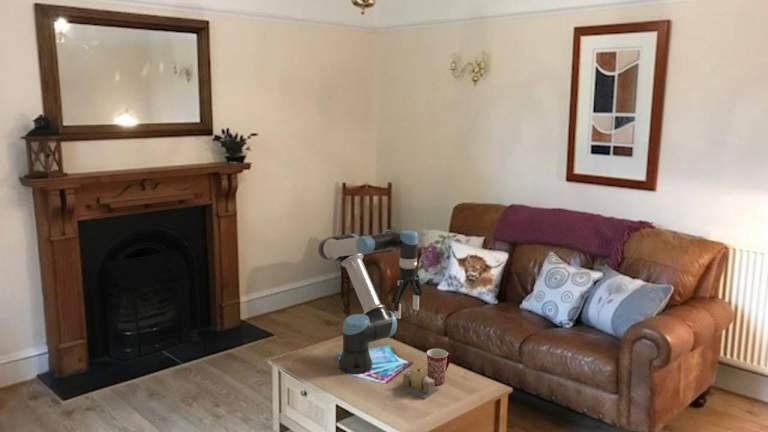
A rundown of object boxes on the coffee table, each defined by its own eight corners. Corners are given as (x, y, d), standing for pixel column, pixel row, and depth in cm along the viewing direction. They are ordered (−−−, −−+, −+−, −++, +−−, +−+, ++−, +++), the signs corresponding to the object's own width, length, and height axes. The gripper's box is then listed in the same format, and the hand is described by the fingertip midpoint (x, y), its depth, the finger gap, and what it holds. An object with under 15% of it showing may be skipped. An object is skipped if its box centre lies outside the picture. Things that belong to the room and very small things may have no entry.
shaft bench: (399, 389, 269) (399, 374, 268) (412, 381, 277) (413, 366, 276) (424, 399, 262) (425, 383, 260) (438, 390, 269) (438, 375, 268)
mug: (435, 388, 271) (437, 359, 268) (421, 380, 278) (422, 352, 275) (456, 380, 279) (458, 351, 276) (442, 372, 285) (443, 344, 283)
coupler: (411, 388, 269) (411, 369, 267) (417, 384, 272) (417, 366, 270) (420, 391, 266) (421, 373, 264) (426, 387, 269) (427, 369, 268)
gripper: (397, 274, 261) (396, 323, 265) (431, 262, 280) (429, 307, 285) (383, 271, 265) (382, 319, 270) (417, 259, 285) (416, 304, 289)
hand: (406, 313), depth 277 cm, fingers open, 13 cm apart
